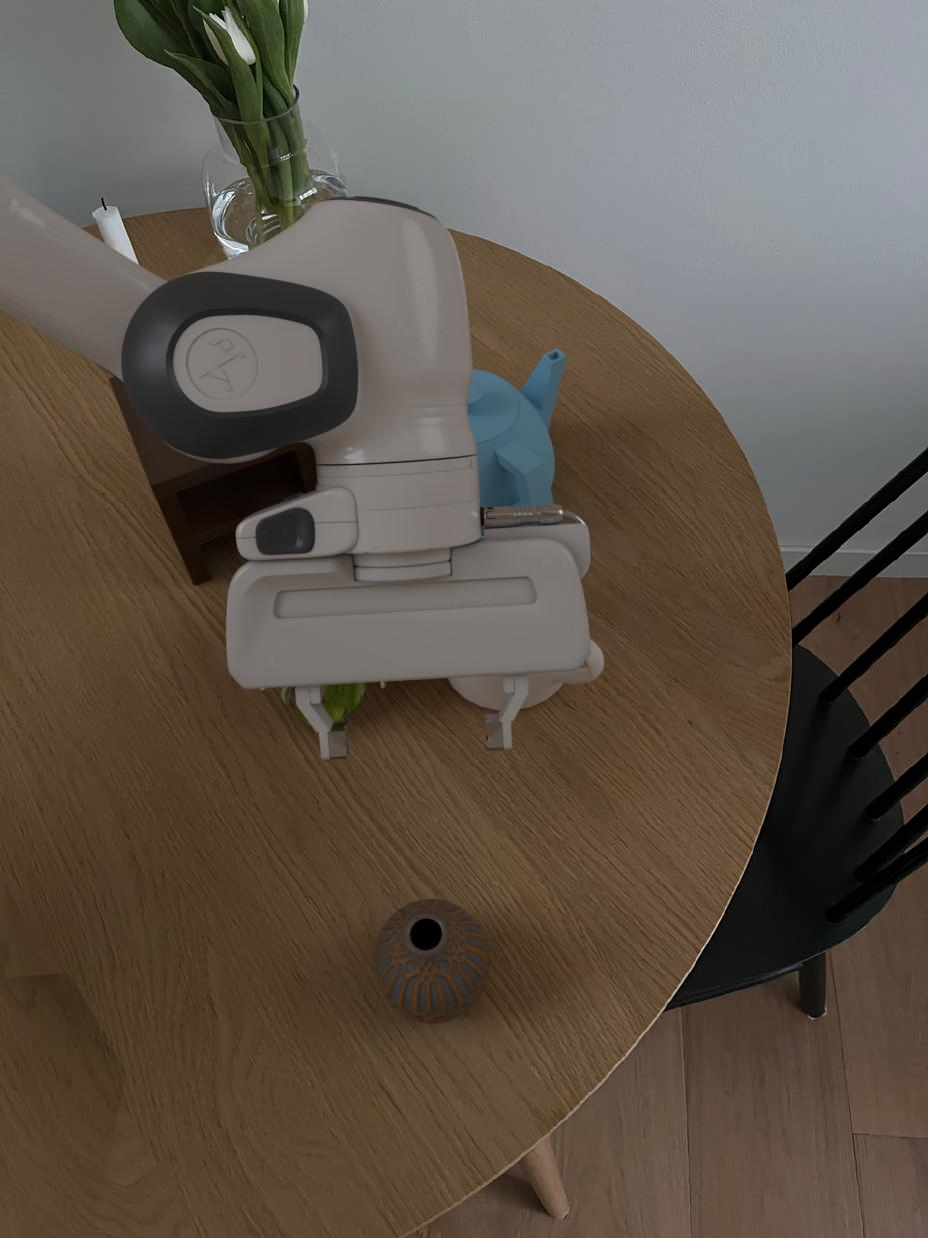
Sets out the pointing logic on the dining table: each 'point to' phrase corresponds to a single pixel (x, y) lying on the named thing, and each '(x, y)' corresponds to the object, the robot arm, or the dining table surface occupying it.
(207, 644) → the dining table surface
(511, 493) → the teapot
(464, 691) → the mug
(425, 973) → the vase
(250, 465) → the stand
